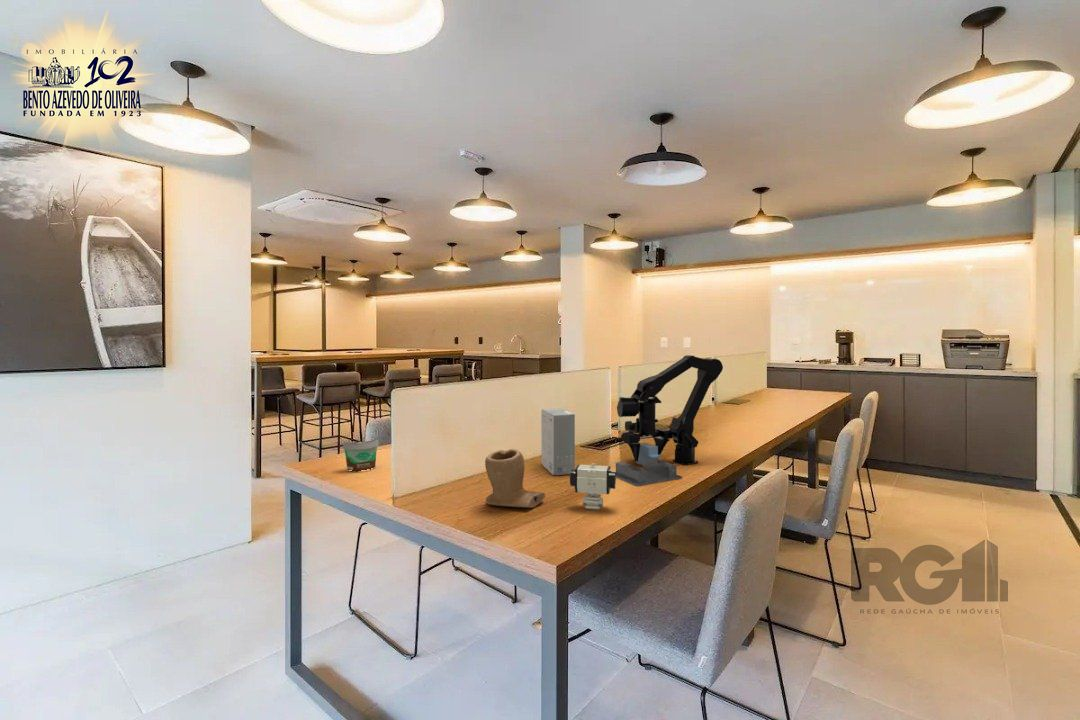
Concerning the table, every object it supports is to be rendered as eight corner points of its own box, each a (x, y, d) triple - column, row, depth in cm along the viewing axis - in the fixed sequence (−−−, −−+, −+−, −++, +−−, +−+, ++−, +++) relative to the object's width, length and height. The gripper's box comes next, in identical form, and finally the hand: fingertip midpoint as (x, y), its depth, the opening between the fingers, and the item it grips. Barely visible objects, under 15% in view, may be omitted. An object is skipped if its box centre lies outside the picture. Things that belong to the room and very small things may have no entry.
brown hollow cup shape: (477, 509, 132) (476, 453, 131) (495, 496, 143) (495, 444, 142) (531, 516, 127) (530, 458, 126) (545, 501, 138) (545, 447, 137)
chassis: (653, 468, 171) (653, 456, 171) (682, 478, 159) (682, 465, 158) (610, 474, 163) (610, 462, 163) (636, 486, 151) (636, 473, 150)
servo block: (632, 461, 180) (632, 442, 180) (641, 460, 182) (641, 441, 182) (652, 468, 170) (652, 448, 170) (661, 467, 172) (661, 447, 172)
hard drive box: (575, 474, 164) (575, 414, 163) (553, 476, 162) (553, 415, 161) (561, 462, 179) (561, 407, 178) (540, 464, 177) (540, 408, 176)
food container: (350, 475, 165) (349, 445, 164) (343, 471, 169) (342, 442, 169) (385, 468, 173) (384, 439, 172) (377, 465, 177) (377, 437, 177)
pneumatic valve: (572, 503, 136) (572, 460, 135) (615, 506, 133) (615, 462, 133) (569, 510, 131) (569, 465, 130) (614, 513, 128) (614, 467, 127)
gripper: (653, 410, 187) (653, 452, 187) (611, 414, 178) (611, 457, 179) (673, 415, 177) (673, 458, 177) (630, 419, 168) (630, 465, 169)
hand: (646, 459), depth 176 cm, fingers open, 9 cm apart
